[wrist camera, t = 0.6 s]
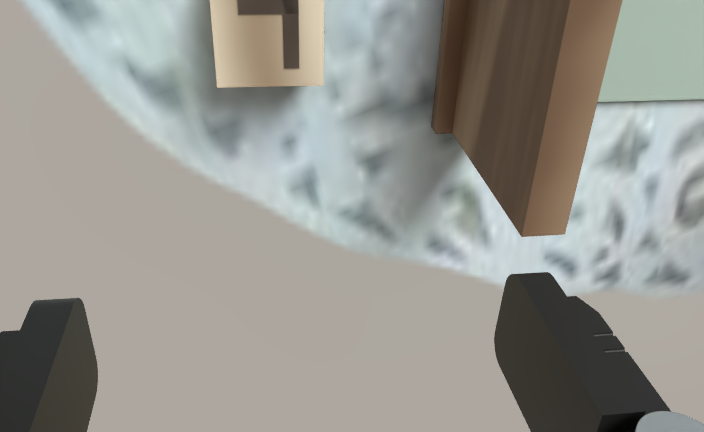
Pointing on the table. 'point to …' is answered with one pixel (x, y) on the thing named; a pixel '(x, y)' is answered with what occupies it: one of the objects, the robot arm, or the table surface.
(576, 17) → the walnut screen
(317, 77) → the letter cube
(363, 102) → the table surface
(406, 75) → the table surface
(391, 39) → the table surface
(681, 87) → the sage pad
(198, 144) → the table surface
